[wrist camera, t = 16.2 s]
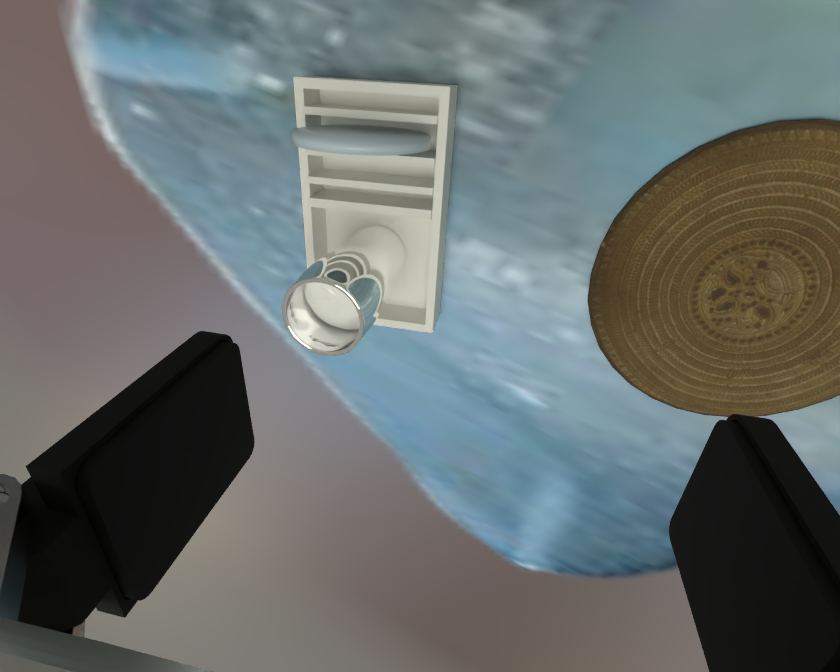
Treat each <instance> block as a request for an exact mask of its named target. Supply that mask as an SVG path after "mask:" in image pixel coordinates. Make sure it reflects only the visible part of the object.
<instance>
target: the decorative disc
mask: <svg viewBox="0 0 840 672" xmlns="http://www.w3.org/2000/svg"><path fill="white" fill-rule="evenodd" d="M588 305H589V312H590V319H591V325H592V328H593V331H594V334H595V337H596V339H597V342H598V345H599V348H600V349H601V351H602V352H603V354H604V355H605V357H606V358H607V359H608V361H609V362H610V364H611V365H612V367H613V368H614V369H615V370H616V371H617V372H618V373H619V374H620V375H621V376H622V377H623V378H624V379H625V380H626V381H627V382H628V383H630V384H631V385H632V386H634V387H635V388H637V389H638V390H640V391H642V392H643V393H645V394H646V395H648V396H649V397H651V398H653V399H655V400H658V401H660V402H663V403H665V404H667V405H670V406H672V407H675V408H677V409H682V410H686V411H690V412H694V413H699V414H703V415H712V416H724V417H729V416H731V415H732V414H740V415H746V416H753V417H754V416H767V415H772V414H777V413H782V412H788V411H793V410H798V409H801V408H805V407H808V406H811V405H814V404H817V403H820V402H823V401H826V400H829V399H832V398H834V397H836V396H839V395H840V122H839V121H832V120H825V119H816V120H798V121H780V122H775V123H771V124H767V125H762V126H758V127H754V128H749V129H745V130H741V131H737V132H735V133H732V134H730V135H727V136H725V137H723V138H720V139H718V140H715V141H713V142H710V143H708V144H705V145H703V146H701V147H699V148H697V149H695V150H694V151H692V152H690V153H689V154H687V155H685V156H684V157H682V158H681V159H679V160H677V161H676V162H674V163H672V164H671V165H669V166H667V167H666V168H664V169H663V170H662V171H661V172H660V173H659V174H657V175H656V176H655V177H654V178H653V179H652V180H650V181H649V182H648V183H647V184H646V185H645V186H643V187H642V188H641V189H640V190H639V191H638V192H637V193H636V194H635V195H634V196H633V197H632V199H631V200H630V201H629V202H628V203H627V205H626V206H625V207H624V208H623V209H622V211H621V212H620V213H619V214H618V215H617V217H616V218H615V219H614V221H613V223H612V225H611V227H610V229H609V230H608V232H607V234H606V236H605V238H604V240H603V242H602V244H601V246H600V249H599V252H598V255H597V258H596V261H595V264H594V267H593V270H592V273H591V279H590V286H589V294H588Z"/></svg>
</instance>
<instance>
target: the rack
mask: <svg viewBox="0 0 840 672" xmlns="http://www.w3.org/2000/svg"><path fill="white" fill-rule="evenodd" d="M293 79H294V93H295V106H296V120H297V128H296V129H293V130H292V142H293V144H294V145H296V146H298V148H299V161H300V175H301V189H302V203H303V216H304V230H305V244H306V257H307V269H308V268H309V267H310V266H311V265H312V264H313V263H314V262H316V261H317V260H318V259H320V258H321V257H322V256H324V255H326V254H328V253H330V252H332V251H334V250H337V249H339V248H342V247H344V246H347V245H348V243H349V241H350V239H351V237H352V236H353V234H354V233H355V232H356V231H357V230H359V229H360V228H362V227H365V226H369V225H379V226H383V227H386V228H388V229H390V230H391V231H393V232H394V233H395V234H396V235H397V236H398V237H399V238H400V240H401V241H402V243H403V246H404V249H405V254H406V259H405V265H404V267H403V269H402V271H401V272H400V274H399V275H398V276H397V277H396V278H394V279H393V280H392V281H390V283H389V288H388V292H387V296H386V300H385V303H384V306H383V308H382V310H381V312H380V314H379V316H378V318H377V319H376V321H375V322H374V324H373V325H380V326H387V327H394V328H401V329H408V330H415V331H422V332H429V333H433V330H434V328H435V325H436V322H437V320H438V317H439V314H440V305H441V293H442V280H443V267H444V255H445V242H446V230H447V217H448V204H449V192H450V179H451V167H452V154H453V141H454V129H455V116H456V104H457V91H458V85H445V84H430V83H414V82H398V81H382V80H366V79H350V78H335V77H319V76H302V77H293Z"/></svg>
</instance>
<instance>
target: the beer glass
mask: <svg viewBox="0 0 840 672" xmlns="http://www.w3.org/2000/svg"><path fill="white" fill-rule="evenodd" d="M405 259H406V254H405V249H404V246H403V243H402V241H401V240H400V238H399V237H398V236H397V235H396V234H395V233H394V232H393V231H391V230H390V229H388V228H386V227H383V226H379V225H369V226H365V227H362V228H360V229H359V230H357V231H356V232H355V233H354V234H353V236H352V237H351V239H350V241H349V243H348V245H347V246H344V247H342V248H339V249H337V250H334V251H332V252H330V253H328V254H326V255H324V256H322V257H321V258H320V259H318V260H317V261H316V262H314V263H313V264H312V265H311V266H310V267H309V268H308V269H307V270H306V271H305V272H304V273H303V274H302V275H301V276H300V277H299V278H298V280H297V281H296V282H295V283H294V285H293V286H291V287H290V288H289V290H288V291H287V292H286V294H285V296H284V299H283V302H282V316H283V320H284V323H285V326H286V328H287V330H288V331H289V333H290V334H291V336H292V337H293V338H294V339H295V340H296V341H297V342H298V343H299V344H300V345H302V346H303V347H305V348H306V349H308V350H310V351H312V352H314V353H317V354H321V355H326V356H336V355H341V354H344V353H347V352H349V351H350V350H352V349H353V348H354V347H355V346H356V345H357V344H358V343H359V341H360V340H361V338H362V337H363V336H364V335H365V334H366V333H367V332H368V330H369V329H370V328H371V326H372V325H373V324H374V322H375V321H376V319H377V318H378V316H379V314H380V312H381V310H382V308H383V306H384V303H385V300H386V296H387V292H388V288H389V283H390V281H392V280H393V279H394V278H396V277H397V276H398V275H399V274H400V272H401V271H402V269H403V267H404V265H405Z"/></svg>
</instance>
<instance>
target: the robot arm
mask: <svg viewBox="0 0 840 672" xmlns="http://www.w3.org/2000/svg"><path fill="white" fill-rule="evenodd" d="M253 448H254V435H253V429H252V423H251V417H250V411H249V405H248V398H247V393H246V386H245V380H244V374H243V368H242V362H241V355H240V350H239V347H238V345H237V344H236V343H233V341H232V339H231V337H230V336H228V335H225V334H218V333H212V332H205V331H200V332H198V333H196V334H195V335H193V336H192V337H191V338H189V339H188V340H187V341H186V342H184V343H183V344H182V345H181V346H179V347H178V348H177V349H175V350H174V351H173V352H172V353H170V354H169V355H168V356H166V357H165V358H164V359H163V360H161V361H160V362H159V363H157V364H156V365H155V366H154V367H152V368H151V369H150V370H149V371H147V372H146V373H145V374H143V375H142V376H141V377H140V378H138V379H137V380H136V381H134V382H133V383H132V384H131V385H130V386H128V387H127V388H125V389H124V390H123V391H122V392H120V393H119V394H118V395H117V396H115V397H114V398H113V399H112V400H110V401H109V402H108V403H106V404H105V405H104V406H102V407H101V408H100V409H99V410H98V411H96V412H95V413H94V414H92V415H91V416H90V417H88V418H87V419H86V420H85V421H83V422H82V423H81V424H80V425H78V426H77V427H76V428H74V429H73V430H72V431H70V432H69V433H68V434H67V435H65V436H64V437H63V438H62V439H60V440H59V441H58V442H57V443H55V444H54V445H53V446H52V447H50V448H49V449H47V450H46V451H45V452H44V453H42V454H41V455H40V456H39V457H37V458H36V459H35V460H33V461H32V462H31V463H30V464H28V465H27V466H26V468H27V470H28V471H29V473H30V476H31V477H30V478H29V479H28V480H27V481H25V482H24V483H23V484H22V485H21V484H20V483H19V482H18V480H17V479H16V478H15V477H11V476H8V475H5V474H0V672H213V671H208V670H205V669H201V668H198V667H194V666H190V665H186V664H183V663H179V662H175V661H171V660H168V659H164V658H160V657H156V656H153V655H149V654H145V653H141V652H137V651H134V650H130V649H126V648H122V647H119V646H115V645H111V644H108V643H104V642H100V641H96V640H92V639H88V638H84V633H85V619H86V618H87V617H88V616H89V615H90V613H91V612H92V611H93V610H94V608H95V607H96V608H97V610H98V611H102V612H105V613H109V614H113V615H117V616H121V617H126V616H127V614H128V613H129V612H130V610H131V609H132V608H133V606H134V605H135V604H136V602H137V601H138V600H143V599H145V598H146V597H147V596H148V595H149V594H150V593H151V592H152V591H153V589H154V588H155V587H156V585H157V584H158V582H159V581H160V580H161V578H162V577H163V576H164V574H165V573H166V572H167V570H168V569H169V568H170V566H171V565H172V563H173V562H174V561H175V559H176V558H177V556H178V555H179V554H180V552H181V551H182V550H183V548H184V547H185V545H186V544H187V543H188V541H189V540H190V539H191V537H192V536H193V534H194V533H195V532H196V530H197V529H198V528H199V526H200V525H201V523H202V522H203V521H204V519H205V518H206V517H207V515H208V514H209V512H210V511H211V510H212V508H213V507H214V506H215V504H216V503H217V502H218V500H219V499H220V497H221V496H222V495H223V493H224V492H225V491H226V489H227V488H228V487H229V485H230V484H231V482H232V481H233V480H234V478H235V477H236V475H237V474H238V473H239V471H240V470H241V468H242V467H243V466H244V465H245V463H246V462H247V460H248V459H249V458H250V456H251V454H252V451H253ZM669 535H670V541H671V544H672V547H673V551H674V554H675V557H676V561H677V564H678V568H679V571H680V574H681V578H682V581H683V584H684V588H685V591H686V594H687V598H688V601H689V604H690V608H691V611H692V615H693V618H694V621H695V625H696V628H697V631H698V635H699V638H700V641H701V645H702V648H703V651H704V655H705V658H706V662H707V665H708V668H709V672H840V515H839V514H838V512H837V511H836V510H835V508H834V507H833V505H832V504H831V502H830V501H829V500H828V498H827V497H826V495H825V494H824V492H823V491H822V489H821V488H820V487H819V485H818V484H817V482H816V481H815V479H814V478H813V477H812V475H811V474H810V472H809V471H808V469H807V468H806V466H805V465H804V464H803V462H802V461H801V459H800V458H799V456H798V455H797V454H796V452H795V451H794V449H793V448H792V446H791V445H790V443H789V442H788V441H787V439H786V438H785V436H784V435H783V433H782V432H781V431H780V429H779V428H778V426H777V425H776V424H775V423H774V422H773V421H772V420H770V419H766V418H759V417H753V416H746V415H740V414H732V415H731V416H729V417H728V418H727V420H719V421H718V422H717V423H716V424H715V426H714V428H713V430H712V432H711V435H710V437H709V439H708V441H707V443H706V445H705V447H704V450H703V452H702V454H701V456H700V458H699V460H698V463H697V465H696V467H695V469H694V471H693V473H692V475H691V478H690V480H689V482H688V484H687V486H686V488H685V490H684V493H683V495H682V497H681V499H680V501H679V503H678V505H677V508H676V510H675V512H674V514H673V516H672V518H671V521H670V526H669Z"/></svg>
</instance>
